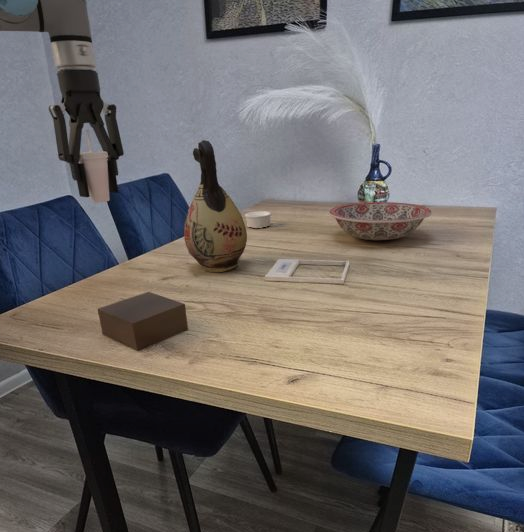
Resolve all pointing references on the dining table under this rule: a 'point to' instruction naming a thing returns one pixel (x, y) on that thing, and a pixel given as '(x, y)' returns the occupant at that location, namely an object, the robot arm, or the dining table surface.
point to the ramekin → (258, 219)
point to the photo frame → (288, 266)
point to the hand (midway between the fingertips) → (99, 194)
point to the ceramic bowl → (379, 219)
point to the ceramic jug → (213, 219)
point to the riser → (143, 320)
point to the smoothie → (96, 173)
